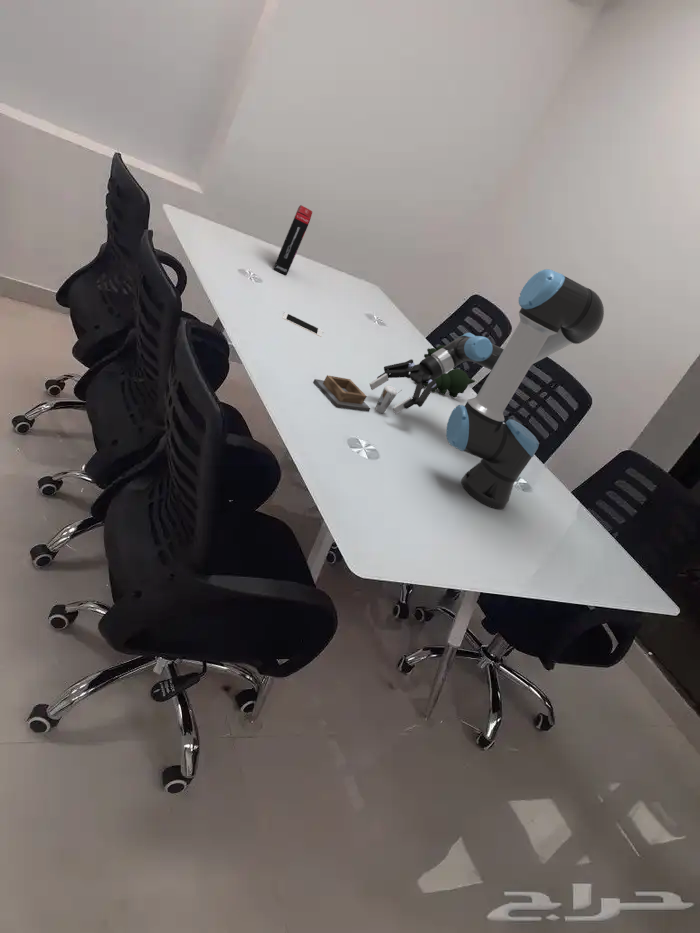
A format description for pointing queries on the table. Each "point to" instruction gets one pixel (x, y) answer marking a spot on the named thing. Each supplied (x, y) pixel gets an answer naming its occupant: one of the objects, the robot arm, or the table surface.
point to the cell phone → (302, 324)
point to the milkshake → (386, 398)
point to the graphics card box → (293, 240)
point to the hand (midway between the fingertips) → (382, 398)
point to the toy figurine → (450, 379)
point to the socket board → (342, 393)
